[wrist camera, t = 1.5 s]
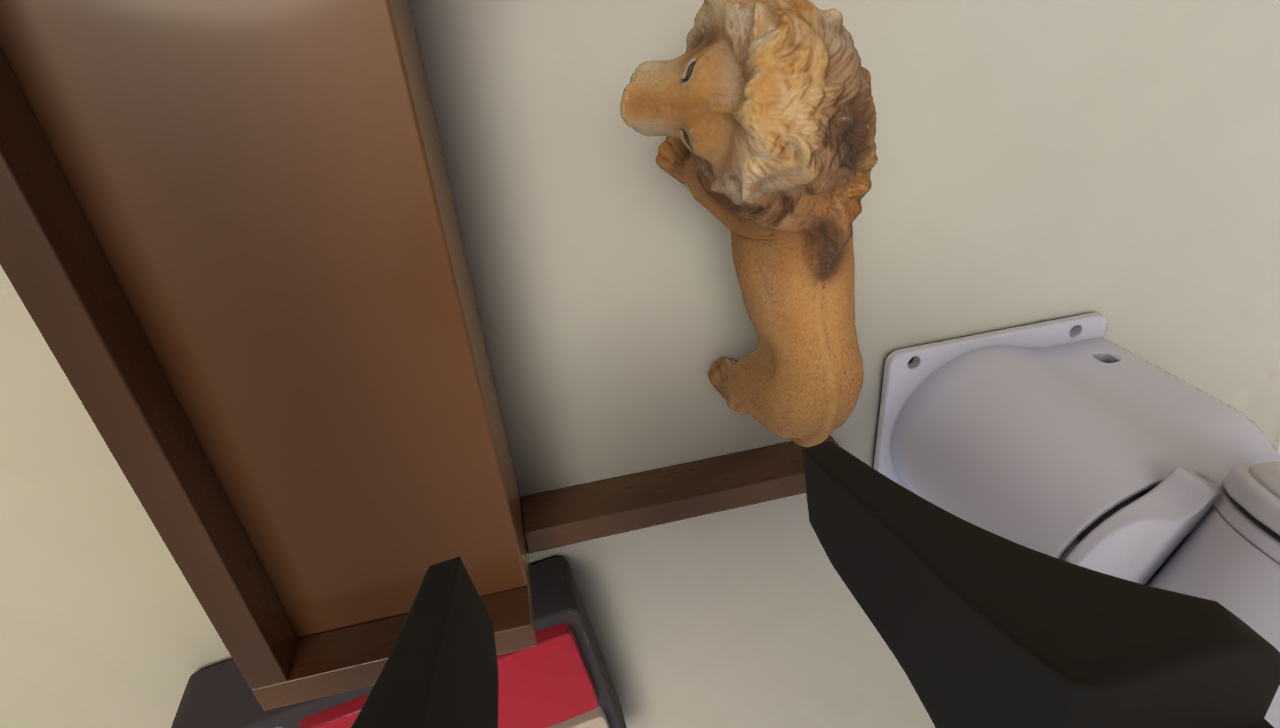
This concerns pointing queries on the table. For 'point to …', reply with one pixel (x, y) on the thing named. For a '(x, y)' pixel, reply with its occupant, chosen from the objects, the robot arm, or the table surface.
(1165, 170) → the table surface
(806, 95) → the lion figurine
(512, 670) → the calculator
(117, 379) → the rack
